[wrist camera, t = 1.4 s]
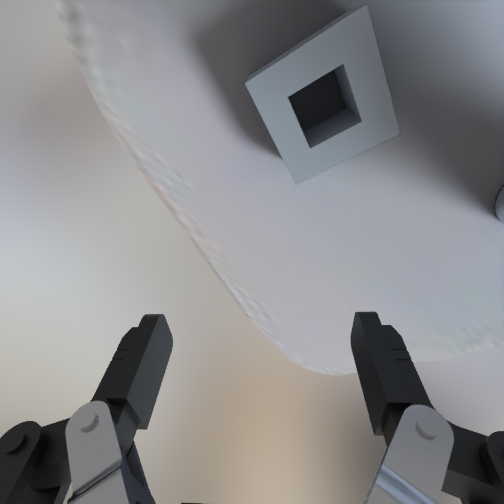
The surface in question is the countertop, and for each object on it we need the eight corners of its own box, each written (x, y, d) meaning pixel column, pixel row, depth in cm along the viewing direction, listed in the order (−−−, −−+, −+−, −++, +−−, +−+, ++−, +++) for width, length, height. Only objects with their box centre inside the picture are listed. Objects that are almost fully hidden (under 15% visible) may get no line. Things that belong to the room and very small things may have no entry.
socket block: (348, 10, 25) (367, 3, 20) (379, 118, 30) (400, 134, 25) (248, 75, 28) (244, 83, 24) (291, 163, 33) (295, 185, 29)
